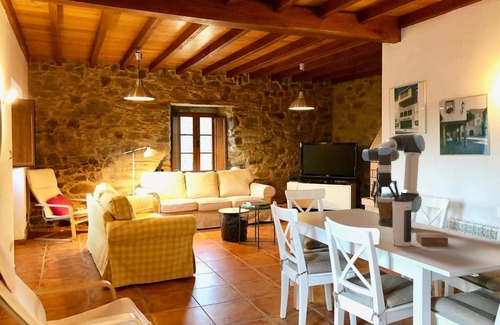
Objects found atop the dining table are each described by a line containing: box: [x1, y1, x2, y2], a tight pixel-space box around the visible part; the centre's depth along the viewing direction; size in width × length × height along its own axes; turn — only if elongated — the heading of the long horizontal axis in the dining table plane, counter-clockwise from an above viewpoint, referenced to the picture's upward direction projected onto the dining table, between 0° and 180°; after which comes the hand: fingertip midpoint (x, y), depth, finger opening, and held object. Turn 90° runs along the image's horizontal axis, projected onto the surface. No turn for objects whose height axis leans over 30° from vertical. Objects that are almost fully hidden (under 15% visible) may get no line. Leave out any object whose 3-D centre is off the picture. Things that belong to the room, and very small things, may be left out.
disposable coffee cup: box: [377, 196, 393, 218], centre depth 252 cm, size 10×10×12 cm
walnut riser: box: [415, 231, 449, 248], centre depth 239 cm, size 14×14×5 cm
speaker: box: [392, 199, 412, 248], centre depth 236 cm, size 11×10×26 cm
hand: (384, 208), depth 252 cm, fingers closed on disposable coffee cup, 9 cm apart
